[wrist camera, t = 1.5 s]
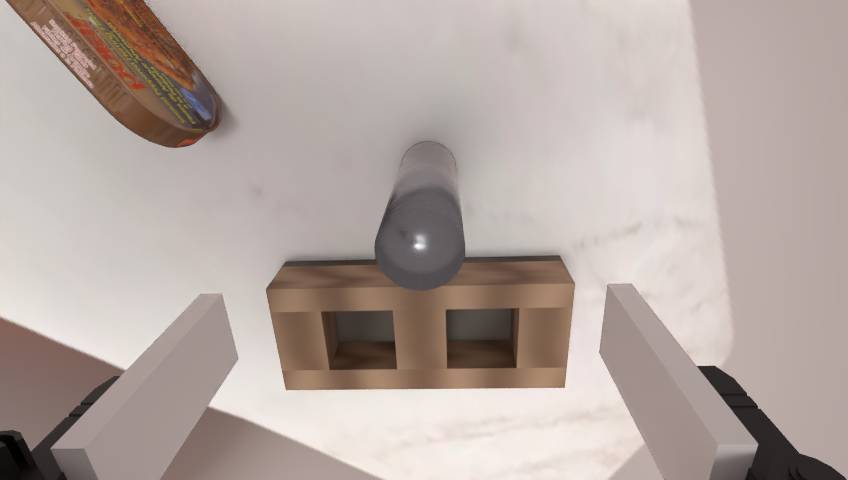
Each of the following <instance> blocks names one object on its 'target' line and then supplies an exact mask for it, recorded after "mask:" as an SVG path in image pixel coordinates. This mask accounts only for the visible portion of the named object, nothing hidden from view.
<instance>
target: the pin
mask: <svg viewBox="0 0 848 480" xmlns="http://www.w3.org/2000/svg"><path fill="white" fill-rule="evenodd" d="M375 257H376V260H377V263H378V265H379V267H380V269H381V270H382V272H383V273H384V274H385V276H386V277H387V278H389V279H390V280H391V281H392V282H394V283H395V284H397V285H399V286H401V287H404V288H407V289H410V290H418V291H424V290H431V289H435V288H438V287H440V286H443V285H444V284H446V283H448V282H449V281H450V280H451V279H453V278H454V277H455V275H456V274H457V273H458V272H459V270H460V268H461V266H462V264H463V261H464V257H465V241H464V233H463V224H462V216H461V207H460V198H459V190H458V181H457V173H456V164H455V160H454V157H453V156H452V154H451V152H450V151H449V150H448V149H447V148H446V147H444V146H443V145H441V144H439V143H436V142H431V141H426V142H421V143H418V144H416V145H414V146H412V147H411V148H410V149H409V150H408V151H407V152H406V154H405V155H404V158H403V160H402V163H401V166H400V169H399V172H398V175H397V178H396V181H395V184H394V187H393V189H392V192H391V195H390V198H389V201H388V204H387V207H386V210H385V213H384V216H383V219H382V222H381V225H380V228H379V231H378V234H377V237H376V240H375Z"/></svg>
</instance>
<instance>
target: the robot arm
mask: <svg viewBox="0 0 848 480" xmlns="http://www.w3.org/2000/svg"><path fill="white" fill-rule="evenodd" d="M599 353H600V355H601V357H602V359H603V361H604V363H605V365H606V367H607V369H608V371H609V373H610V375H611V377H612V379H613V380H614V382H615V384H616V386H617V388H618V390H619V392H620V394H621V396H622V398H623V400H624V402H625V404H626V406H627V408H628V410H629V412H630V414H631V416H632V418H633V420H634V422H635V424H636V426H637V428H638V430H639V431H640V433H641V435H642V437H643V439H644V441H645V443H646V445H647V447H648V449H649V451H650V453H651V455H652V457H653V459H654V461H655V463H656V465H657V467H658V469H659V471H660V473H661V475H662V477H663V479H664V480H846V478H845V477H844V476H842V475H841V474H840V473H838V472H837V471H836V470H835V469H833V468H832V467H831V466H829V465H827V464H825V463H823V462H821V461H819V460H817V459H815V458H812V457H808V456H806V455H802V454H799V453H798V451H797V450H796V449H795V448H794V447H793V446H792V444H791V443H790V442H789V441H788V440H787V439H786V438H785V436H784V435H783V434H782V433H781V432H780V431H779V430H778V428H777V427H776V426H775V425H774V424H773V423H772V422H771V420H770V419H769V418H768V417H767V416H766V415H765V414H764V413H763V411H762V410H761V409H758V406H757V405H756V403H755V402H754V401H753V400H752V399H751V398H750V397H749V396H747V393H746V392H745V391H744V390H743V388H742V387H741V386H740V385H739V384H738V383H737V382H736V380H735V379H734V378H732V377H731V376H729V375H728V374H726V373H724V372H723V371H722V370H720V369H719V368H717V367H716V366H696V365H695V363H694V362H693V361H692V360H691V358H690V357H689V356H688V355H687V353H686V352H685V351H684V350H683V348H682V347H681V346H680V344H679V343H678V342H677V341H676V339H675V338H674V337H673V336H672V334H671V333H670V332H669V331H668V329H667V328H666V327H665V326H664V324H663V323H662V322H661V321H660V319H659V318H658V317H657V315H656V314H655V313H654V312H653V310H652V309H651V308H650V307H649V305H648V304H647V303H646V302H645V300H644V299H643V298H642V297H641V295H640V294H639V293H638V291H637V290H636V289H635V288H634V286H633V285H632V284H608V285H607V293H606V301H605V310H604V318H603V326H602V334H601V343H600V351H599ZM237 360H238V355H237V351H236V347H235V343H234V339H233V335H232V332H231V328H230V324H229V320H228V316H227V312H226V308H225V304H224V300H223V296H222V294H200V295H199V296H198V297H197V298H196V299H195V300H194V301H193V302H192V304H191V305H190V306H189V307H188V308H187V309H186V310H185V311H184V312H183V313H182V314H181V315H180V316H179V317H178V318H177V319H176V320H175V321H174V322H173V323H172V324H171V325H170V326H169V327H168V328H167V329H166V330H165V331H164V332H163V333H162V334H161V335H160V336H159V337H158V338H157V339H156V340H155V341H154V343H153V344H152V345H151V346H150V347H149V348H148V349H147V350H146V351H145V352H144V353H143V354H142V355H141V356H140V357H139V358H138V359H137V360H136V361H135V362H134V363H133V364H132V365H131V366H130V367H129V368H128V369H127V370H126V371H125V372H124V373H123V374H122V375H121V376H114V377H113V378H111V379H109V380H108V381H106V382H105V383H103V384H102V385H100V386H98V387H97V388H95V389H94V390H93V391H92V392H91V393H90V394H89V395H88V396H87V397H86V398H85V399H84V400H83V401H82V402H81V405H80V406H77V407H76V408H75V409H74V410H73V411H72V412H71V413H70V414H69V417H66V418H65V419H64V420H63V421H62V422H61V423H60V424H59V425H58V426H57V427H56V428H55V429H54V430H53V431H52V432H51V433H50V434H49V435H48V436H47V437H45V439H44V440H42V441H41V442H40V444H38V445H37V446H36V447H35V448H34V449H33V450H32V451H31V452H30V450H29V448H28V446H27V444H26V442H25V440H24V438H23V436H22V435H21V433H20V432H17V431H13V430H11V431H0V480H160V478H161V477H162V475H163V474H164V472H165V470H166V469H167V467H168V466H169V464H170V463H171V461H172V460H173V458H174V457H175V455H176V454H177V452H178V450H179V449H180V448H181V446H182V444H183V443H184V441H185V440H186V438H187V437H188V435H189V434H190V432H191V430H192V429H193V428H194V426H195V424H196V423H197V421H198V420H199V418H200V417H201V415H202V414H203V412H204V411H205V409H206V408H207V406H208V405H209V403H210V402H211V400H212V398H213V397H214V395H215V394H216V392H217V391H218V389H219V388H220V386H221V385H222V383H223V382H224V380H225V379H226V377H227V375H228V374H229V372H230V371H231V369H232V368H233V366H234V365H235V363H236V362H237Z"/></svg>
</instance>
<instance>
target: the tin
mask: <svg viewBox="0 0 848 480" xmlns="http://www.w3.org/2000/svg"><path fill="white" fill-rule="evenodd" d="M6 1H7V2H8V3H9V5H10V6H11V7H12V8H13V9H14V10H15V12H16V13H17V14H18V15H19V16H20V17H21V18H22V19H23V20H24V21H25V22H26V23H27V25H28V26H29V27H30V28H31V29H32V30H33V31H34V32H35V33H36V34H37V36H38V37H39V38H40V39H41V40H42V41H43V42H44V43H45V44H46V45H47V46H48V47H49V49H50V50H51V51H52V52H53V53H54V54H55V55H56V56H57V57H58V58H59V59H60V60H61V62H62V63H63V64H64V65H65V66H66V67H67V68H68V69H69V70H70V71H71V72H72V73H73V75H74V76H75V77H76V78H77V79H78V80H79V81H80V82H81V83H82V84H83V85H84V86H85V87H86V88H87V90H88V91H89V92H90V93H91V94H92V95H93V96H94V97H95V98H96V99H97V100H98V101H99V103H100V104H101V105H102V106H103V107H104V108H105V109H106V110H107V111H108V112H109V113H110V114H111V115H112V116H113V117H114V118H115V119H116V120H118V121H119V122H120V123H121V124H122V125H124V126H125V127H126V128H128V129H129V130H131V131H132V132H134V133H135V134H137V135H139V136H141V137H142V138H144V139H146V140H148V141H150V142H153V143H156V144H159V145H162V146H165V147H171V148H178V147H186V146H190V145H192V144H194V143H196V142H197V141H198V140H200V139H201V138H202V137H203V136H204V135H206V134H207V133H208V132H211V131H213V130H215V129H216V128H217V127H218V125H219V123H220V121H221V109H220V104H219V101H218V98H217V96H216V94H215V92H214V90H213V88H212V87H211V85H210V84H209V82H208V81H207V79H206V78H205V77H204V75H203V74H202V73H201V71H200V70H199V69H198V68H197V67H196V65H195V64H194V63H193V62H192V60H191V59H190V58H189V57H188V56H187V54H186V53H185V52H184V51H183V50H182V48H181V47H180V46H179V45H178V43H177V42H176V41H175V40H174V39H173V37H172V36H171V35H170V34H169V33H168V31H167V30H166V29H165V28H164V26H163V25H162V24H161V23H160V22H159V20H158V19H157V18H156V16H155V15H154V14H153V13H152V12H151V10H150V9H149V8H148V7H147V6H146V4H145V3H144V2H143V1H142V0H6Z"/></svg>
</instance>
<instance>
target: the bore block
mask: <svg viewBox="0 0 848 480" xmlns="http://www.w3.org/2000/svg"><path fill="white" fill-rule="evenodd" d="M574 288H575V283H574V281H573V279H572V277H571V276H570V274H569V272H568V270H567V268H566V267H565V265H564V263H563V261H562V259H561V258H560V256H523V257H479V258H464V261H463V264H462V266H461V268H460V270H459V272H458V273H457V274H456V275H455V277H454V278H453V279H451V280H450V281H449V282H448V283H446V284H444V285H443V286H440V287H438V288H435V289H431V290H424V291H418V290H410V289H407V288H404V287H401V286H399V285H397V284H395V283H394V282H392V281H391V280H390V279H389V278H387V277H386V276H385V274H384V273H383V272H382V270H381V269H380V267H379V265H378V263H377V260H345V261H301V262H285V263H284V265H283V266H282V268H281V269H280V270H279V272H278V273H277V275H276V276H275V277H274V279H273V280H272V282H271V283H270V284H269V286H268V287H267V288H266V293H267V298H268V303H269V308H270V313H271V318H272V323H273V328H274V333H275V338H276V343H277V348H278V353H279V358H280V363H281V368H282V373H283V378H284V383H285V388H286V390H347V389H464V388H565V379H566V369H567V359H568V349H569V338H570V328H571V318H572V308H573V298H574Z"/></svg>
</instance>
